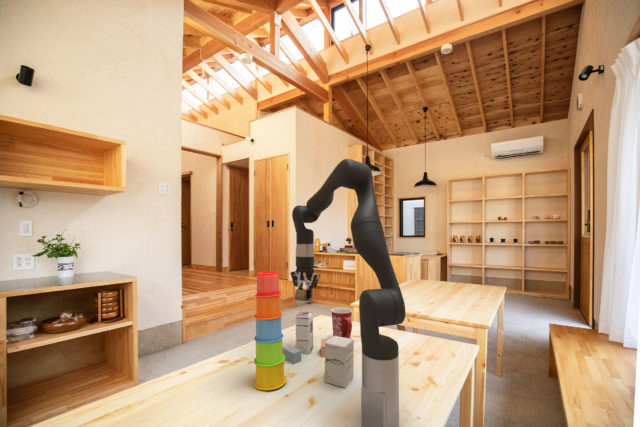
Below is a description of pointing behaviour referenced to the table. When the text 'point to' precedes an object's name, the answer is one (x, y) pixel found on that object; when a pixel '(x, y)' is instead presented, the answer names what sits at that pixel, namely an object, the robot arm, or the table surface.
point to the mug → (342, 322)
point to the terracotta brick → (323, 348)
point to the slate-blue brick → (292, 354)
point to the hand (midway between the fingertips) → (304, 297)
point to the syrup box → (304, 332)
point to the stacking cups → (268, 334)
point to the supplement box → (339, 361)
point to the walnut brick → (302, 295)
